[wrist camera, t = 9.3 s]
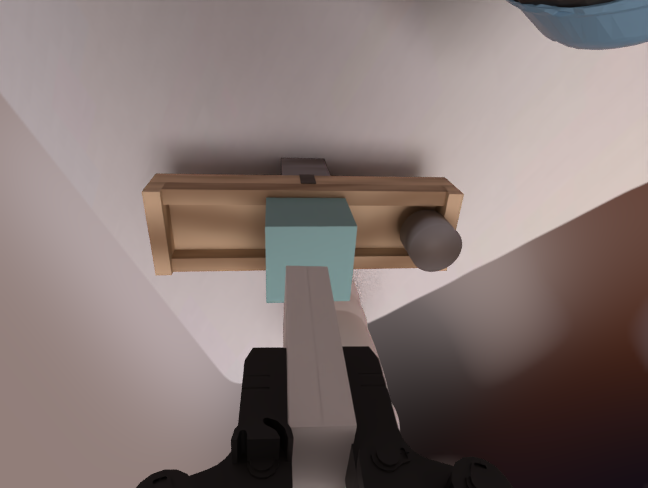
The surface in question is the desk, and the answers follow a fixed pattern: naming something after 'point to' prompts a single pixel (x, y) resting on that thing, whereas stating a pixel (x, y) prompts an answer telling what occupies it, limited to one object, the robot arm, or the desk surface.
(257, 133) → the desk surface
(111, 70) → the desk surface
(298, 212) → the block
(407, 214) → the beam
